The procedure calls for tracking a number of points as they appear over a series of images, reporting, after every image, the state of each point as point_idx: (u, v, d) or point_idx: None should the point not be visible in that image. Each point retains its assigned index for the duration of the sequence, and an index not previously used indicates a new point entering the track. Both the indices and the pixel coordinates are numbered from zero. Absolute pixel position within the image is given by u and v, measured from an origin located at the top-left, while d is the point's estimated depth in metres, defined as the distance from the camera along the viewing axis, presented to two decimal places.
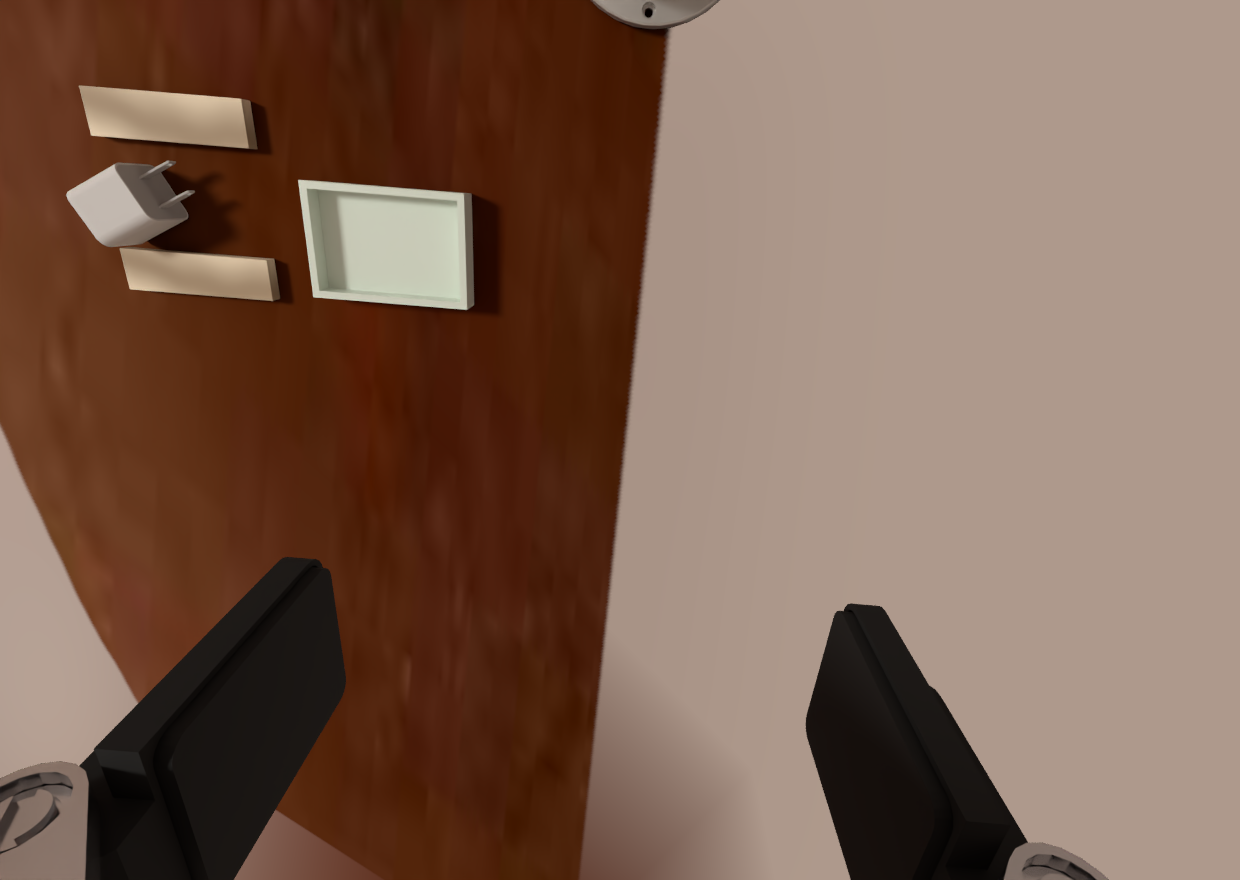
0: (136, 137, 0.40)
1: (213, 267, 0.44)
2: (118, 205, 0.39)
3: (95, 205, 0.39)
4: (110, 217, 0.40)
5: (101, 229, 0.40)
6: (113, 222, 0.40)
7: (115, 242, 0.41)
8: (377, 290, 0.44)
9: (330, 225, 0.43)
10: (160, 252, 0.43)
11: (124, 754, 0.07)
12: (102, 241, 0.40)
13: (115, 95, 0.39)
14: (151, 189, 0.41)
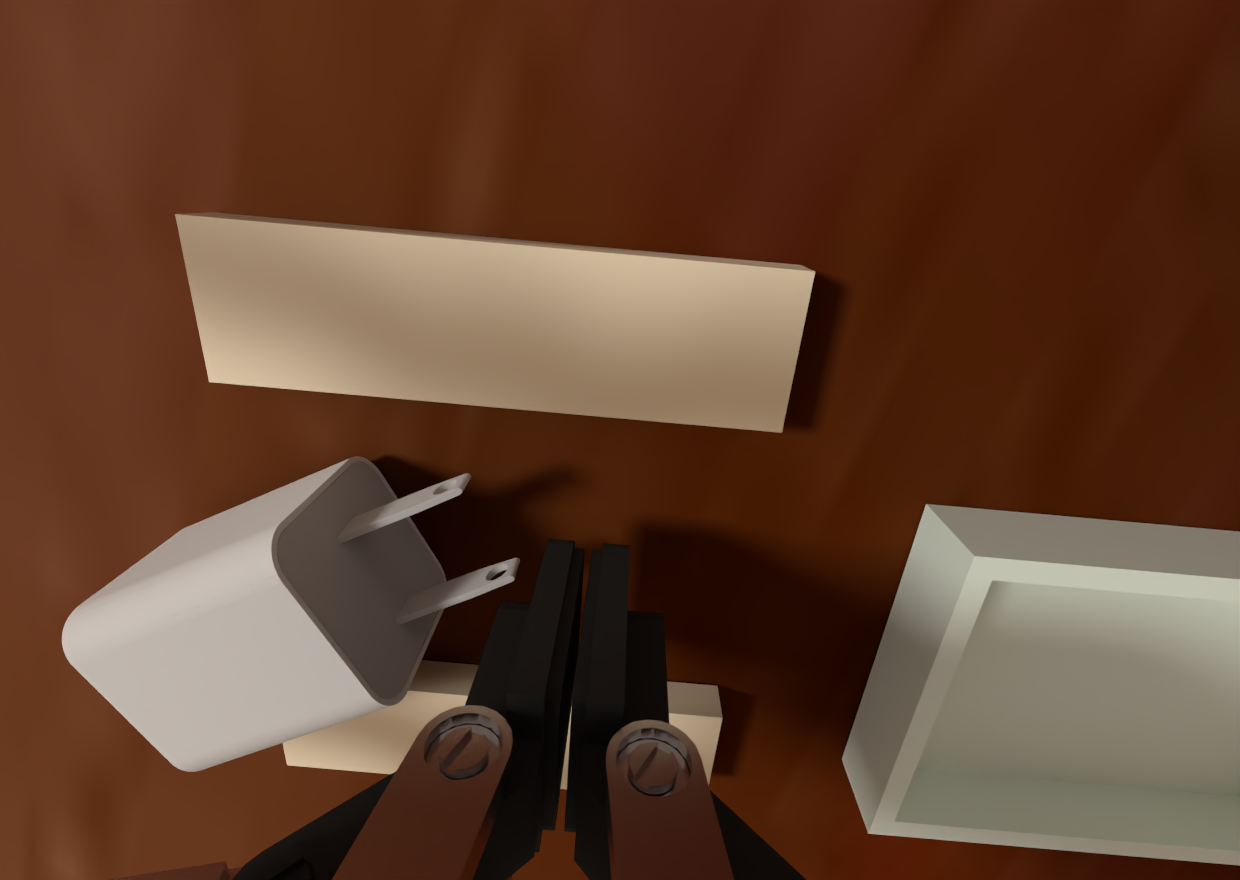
0: (374, 391, 0.11)
1: None
2: (273, 678, 0.10)
3: (179, 678, 0.10)
4: (235, 711, 0.10)
5: (197, 743, 0.11)
6: (245, 725, 0.10)
7: (240, 755, 0.11)
8: (1017, 777, 0.15)
9: None
10: None
11: (528, 699, 0.08)
12: (196, 769, 0.11)
13: (316, 251, 0.10)
14: (371, 563, 0.11)
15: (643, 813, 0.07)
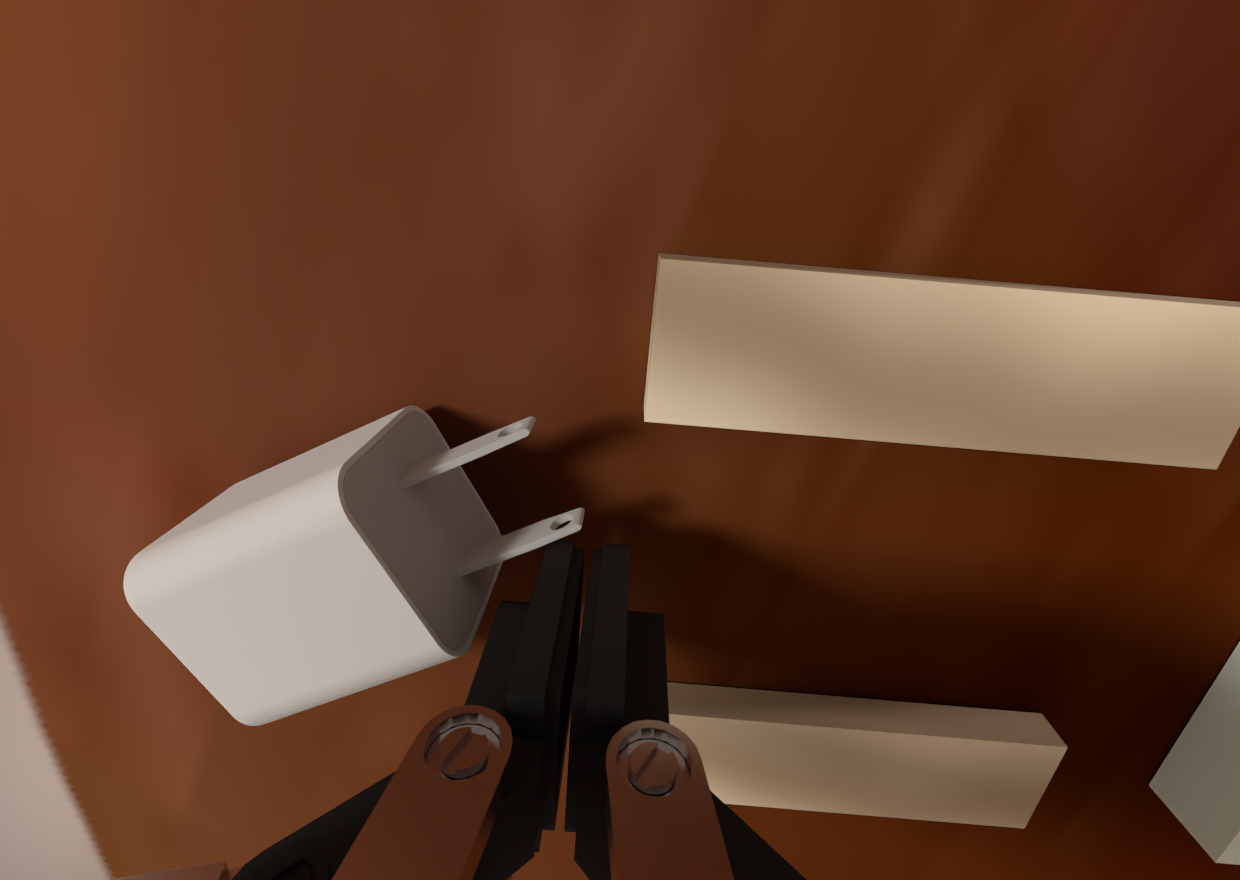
0: (811, 430, 0.11)
1: (889, 757, 0.14)
2: (338, 626, 0.10)
3: (242, 625, 0.10)
4: (298, 661, 0.10)
5: (259, 695, 0.10)
6: (308, 676, 0.10)
7: (300, 711, 0.11)
8: None
9: None
10: (739, 721, 0.14)
11: (527, 698, 0.08)
12: (257, 722, 0.11)
13: (794, 294, 0.10)
14: (432, 513, 0.11)
15: (643, 813, 0.07)
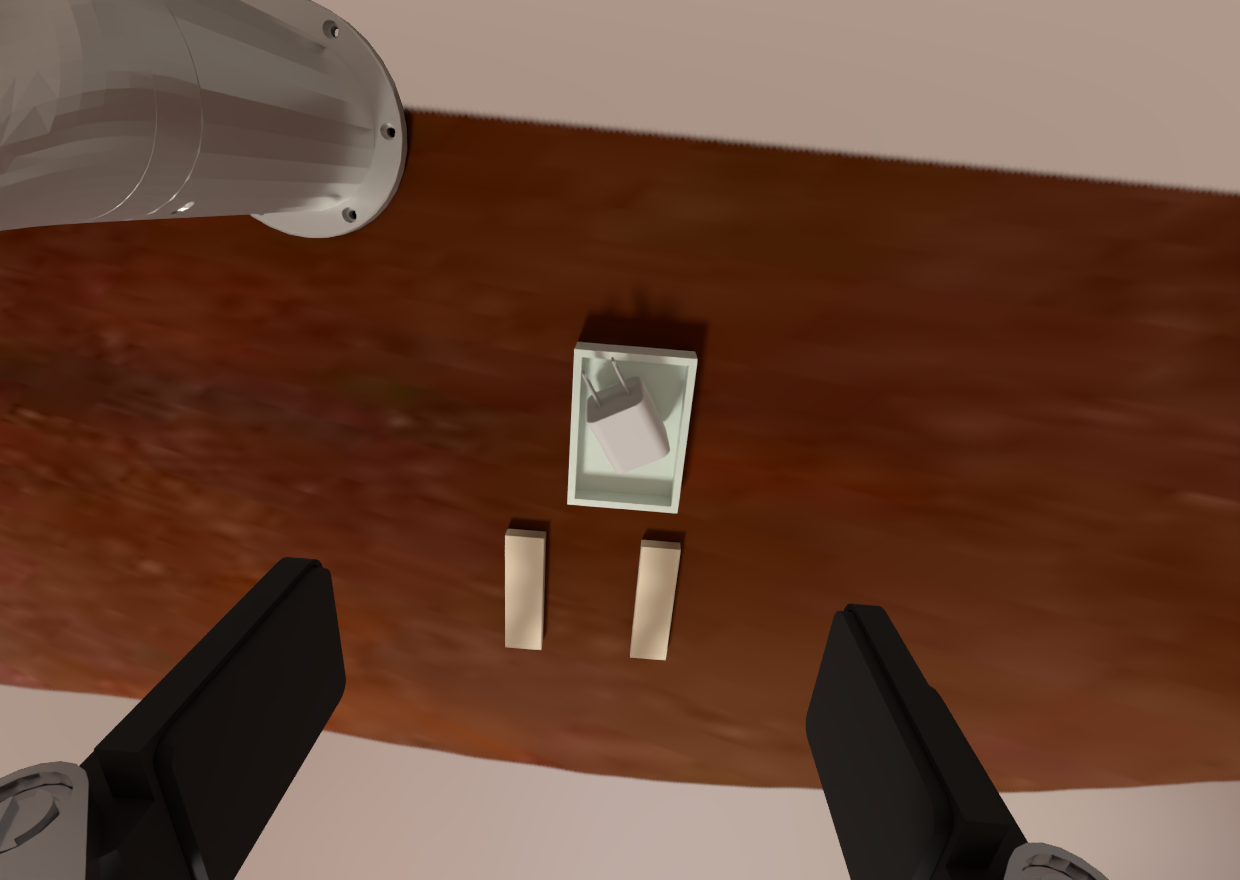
0: (540, 619, 0.47)
1: (647, 591, 0.46)
2: (628, 428, 0.36)
3: (629, 450, 0.37)
4: (640, 439, 0.37)
5: (652, 451, 0.37)
6: (645, 438, 0.37)
7: (665, 443, 0.38)
8: (674, 451, 0.42)
9: (609, 484, 0.43)
10: (633, 628, 0.48)
11: (123, 754, 0.07)
12: (664, 453, 0.38)
13: (510, 625, 0.48)
14: (611, 399, 0.37)
15: None
